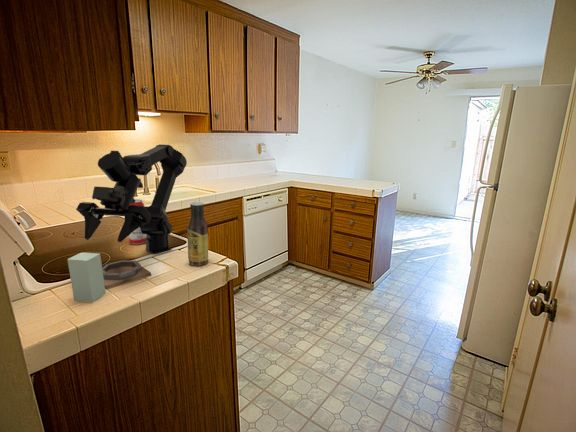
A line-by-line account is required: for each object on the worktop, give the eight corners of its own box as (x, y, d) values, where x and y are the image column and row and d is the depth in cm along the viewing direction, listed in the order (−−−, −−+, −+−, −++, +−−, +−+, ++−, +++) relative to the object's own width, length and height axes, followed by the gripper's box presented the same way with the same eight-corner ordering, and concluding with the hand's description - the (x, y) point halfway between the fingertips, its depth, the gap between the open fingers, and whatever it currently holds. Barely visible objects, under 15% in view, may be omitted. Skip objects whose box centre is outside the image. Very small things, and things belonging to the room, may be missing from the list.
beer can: (150, 242, 118) (146, 201, 113) (133, 246, 113) (128, 203, 109) (143, 238, 122) (140, 198, 118) (126, 242, 117) (122, 200, 113)
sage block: (87, 291, 81) (81, 252, 78) (105, 293, 81) (100, 253, 78) (74, 300, 77) (67, 259, 74) (93, 302, 76) (86, 260, 73)
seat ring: (132, 262, 97) (131, 257, 97) (145, 272, 91) (145, 267, 90) (96, 271, 90) (95, 267, 90) (108, 283, 84) (107, 278, 83)
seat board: (134, 263, 99) (134, 260, 99) (151, 275, 91) (150, 272, 91) (91, 274, 90) (91, 271, 90) (106, 289, 83) (105, 285, 82)
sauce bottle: (184, 262, 101) (181, 202, 96) (201, 257, 105) (199, 200, 100) (195, 269, 96) (192, 206, 91) (213, 263, 101) (210, 203, 96)
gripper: (76, 172, 84) (48, 223, 76) (141, 175, 82) (119, 228, 74) (100, 196, 93) (77, 243, 86) (159, 199, 92) (141, 247, 84)
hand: (102, 240), depth 82 cm, fingers open, 9 cm apart
